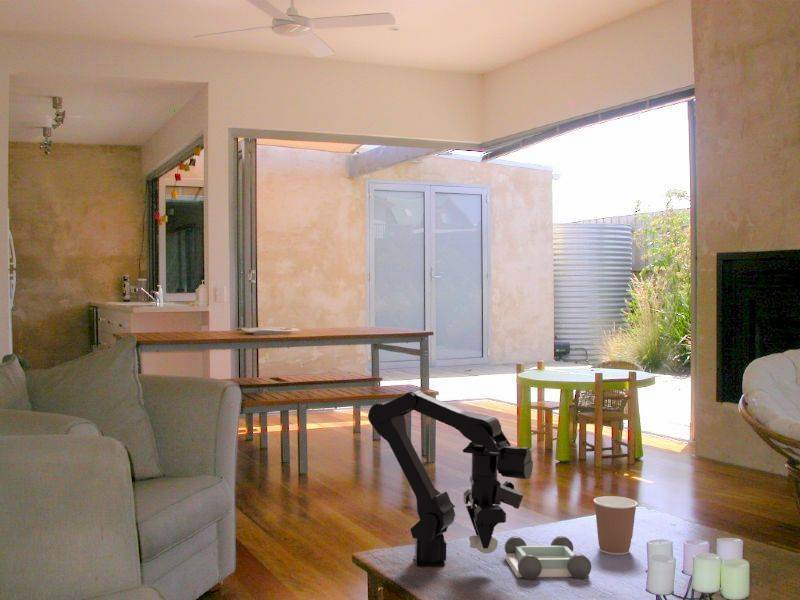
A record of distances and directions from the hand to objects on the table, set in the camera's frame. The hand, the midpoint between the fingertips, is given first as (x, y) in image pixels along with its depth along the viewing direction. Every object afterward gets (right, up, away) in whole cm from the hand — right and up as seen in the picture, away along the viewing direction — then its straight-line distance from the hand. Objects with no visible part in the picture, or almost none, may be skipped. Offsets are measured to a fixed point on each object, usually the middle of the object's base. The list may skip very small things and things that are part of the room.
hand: (483, 544), depth 189 cm
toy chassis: (+15, -6, +3) cm, 16 cm away
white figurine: (0, -2, 0) cm, 2 cm away
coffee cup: (+33, -7, +17) cm, 38 cm away
